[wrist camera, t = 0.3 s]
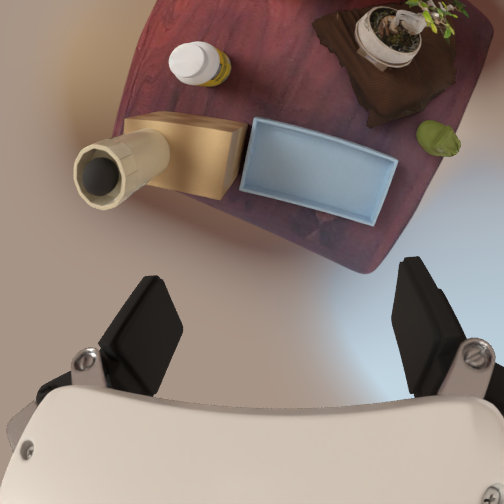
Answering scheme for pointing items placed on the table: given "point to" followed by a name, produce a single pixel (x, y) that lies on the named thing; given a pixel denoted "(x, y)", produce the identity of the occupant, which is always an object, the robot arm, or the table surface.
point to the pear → (438, 139)
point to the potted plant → (394, 54)
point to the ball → (100, 176)
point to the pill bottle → (200, 64)
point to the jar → (125, 164)
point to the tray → (316, 170)
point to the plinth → (196, 151)
